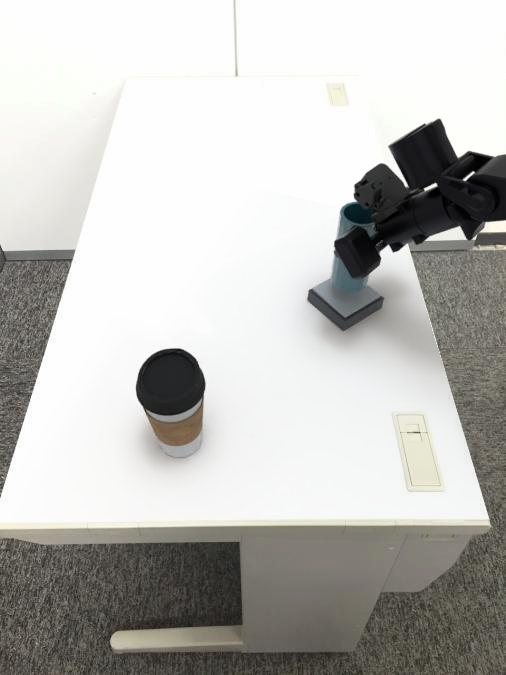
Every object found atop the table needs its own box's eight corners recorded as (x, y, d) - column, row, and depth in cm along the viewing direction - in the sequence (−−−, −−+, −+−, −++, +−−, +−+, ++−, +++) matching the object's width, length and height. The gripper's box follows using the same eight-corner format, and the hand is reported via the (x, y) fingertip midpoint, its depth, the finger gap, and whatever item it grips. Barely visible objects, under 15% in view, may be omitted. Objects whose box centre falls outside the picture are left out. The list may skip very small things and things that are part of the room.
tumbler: (374, 286, 86) (390, 219, 76) (342, 296, 84) (353, 230, 74) (355, 264, 89) (367, 197, 80) (324, 273, 88) (332, 207, 78)
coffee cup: (219, 420, 76) (213, 353, 64) (199, 473, 70) (189, 410, 59) (164, 407, 77) (149, 339, 66) (140, 457, 72) (120, 393, 60)
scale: (381, 308, 91) (385, 295, 88) (342, 331, 87) (345, 318, 85) (345, 279, 95) (347, 266, 93) (307, 300, 92) (308, 287, 89)
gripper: (437, 131, 72) (358, 173, 85) (356, 188, 63) (282, 226, 76) (472, 204, 74) (390, 234, 88) (399, 269, 65) (320, 291, 79)
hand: (347, 244), depth 82 cm, fingers closed on tumbler, 6 cm apart
